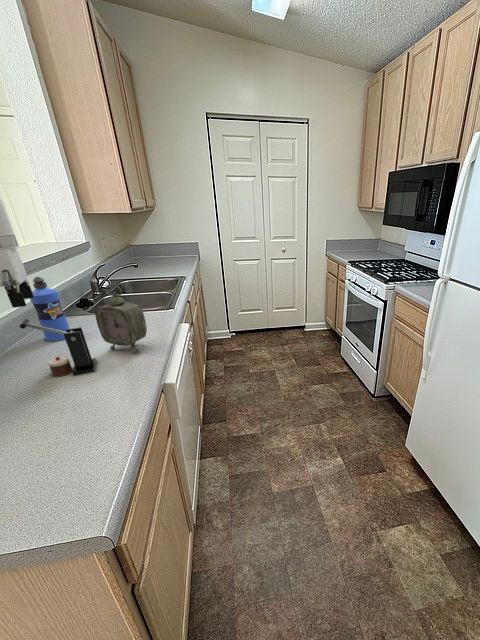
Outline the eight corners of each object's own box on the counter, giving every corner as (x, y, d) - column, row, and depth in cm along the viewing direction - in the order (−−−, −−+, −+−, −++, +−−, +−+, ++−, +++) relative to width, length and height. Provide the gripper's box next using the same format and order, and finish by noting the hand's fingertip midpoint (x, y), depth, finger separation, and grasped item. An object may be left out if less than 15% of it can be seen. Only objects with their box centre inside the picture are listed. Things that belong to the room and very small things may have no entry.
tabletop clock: (105, 351, 126) (85, 286, 115) (122, 342, 134) (105, 280, 123) (137, 355, 122) (120, 288, 111) (153, 345, 130) (138, 282, 119)
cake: (51, 377, 108) (45, 362, 105) (54, 370, 113) (48, 355, 110) (71, 374, 110) (65, 358, 108) (73, 367, 115) (68, 352, 112)
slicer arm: (18, 329, 99) (20, 322, 99) (22, 324, 103) (24, 317, 103) (77, 342, 107) (79, 336, 107) (79, 337, 112) (81, 331, 111)
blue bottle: (76, 334, 141) (56, 276, 130) (53, 342, 134) (30, 281, 123) (63, 331, 145) (43, 274, 134) (41, 338, 138) (17, 278, 127)
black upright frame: (73, 375, 109) (59, 336, 103) (77, 364, 116) (64, 327, 110) (94, 371, 111) (81, 333, 105) (96, 361, 119) (84, 324, 112)
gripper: (-7, 240, 98) (16, 297, 106) (-29, 247, 84) (-1, 312, 92) (24, 238, 101) (44, 294, 108) (8, 245, 87) (32, 308, 94)
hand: (24, 302), depth 100 cm, fingers open, 9 cm apart
